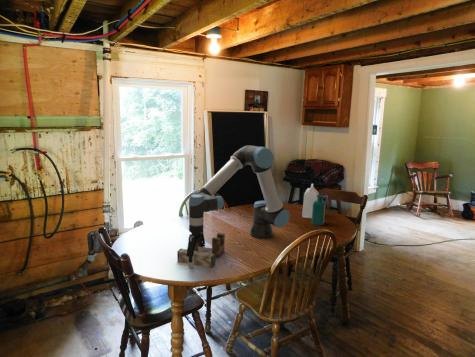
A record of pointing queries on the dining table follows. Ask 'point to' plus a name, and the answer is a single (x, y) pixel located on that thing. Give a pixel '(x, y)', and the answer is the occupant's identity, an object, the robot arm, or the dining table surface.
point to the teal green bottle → (318, 210)
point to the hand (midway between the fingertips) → (196, 262)
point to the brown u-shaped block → (214, 245)
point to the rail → (197, 258)
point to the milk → (309, 201)
